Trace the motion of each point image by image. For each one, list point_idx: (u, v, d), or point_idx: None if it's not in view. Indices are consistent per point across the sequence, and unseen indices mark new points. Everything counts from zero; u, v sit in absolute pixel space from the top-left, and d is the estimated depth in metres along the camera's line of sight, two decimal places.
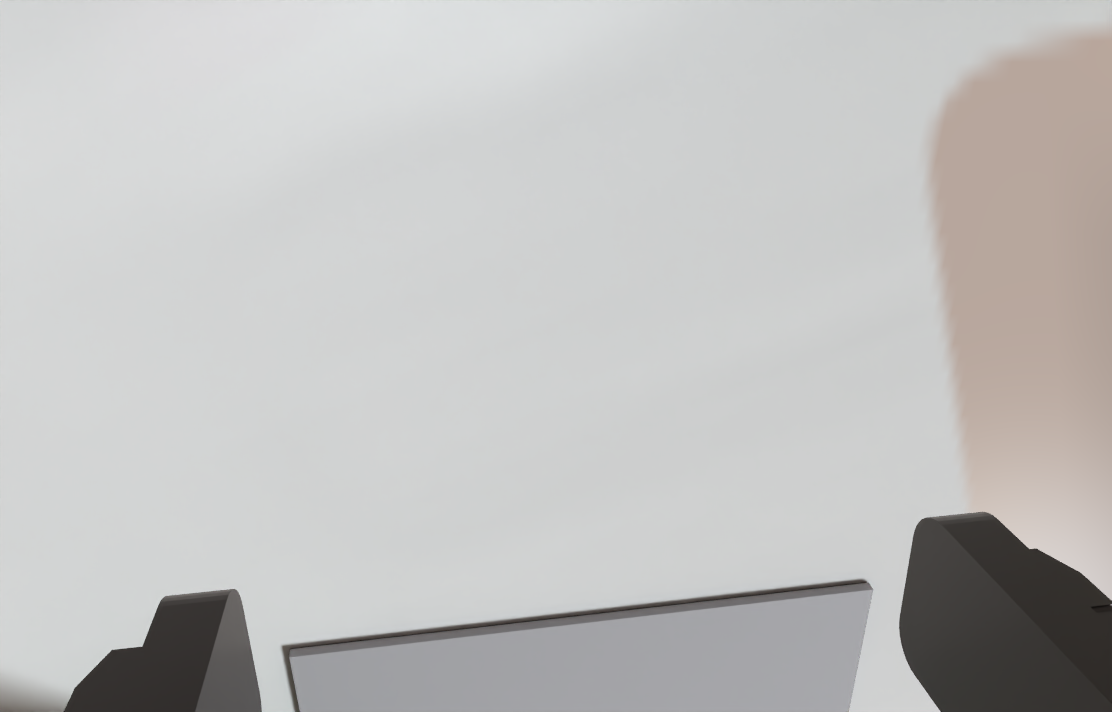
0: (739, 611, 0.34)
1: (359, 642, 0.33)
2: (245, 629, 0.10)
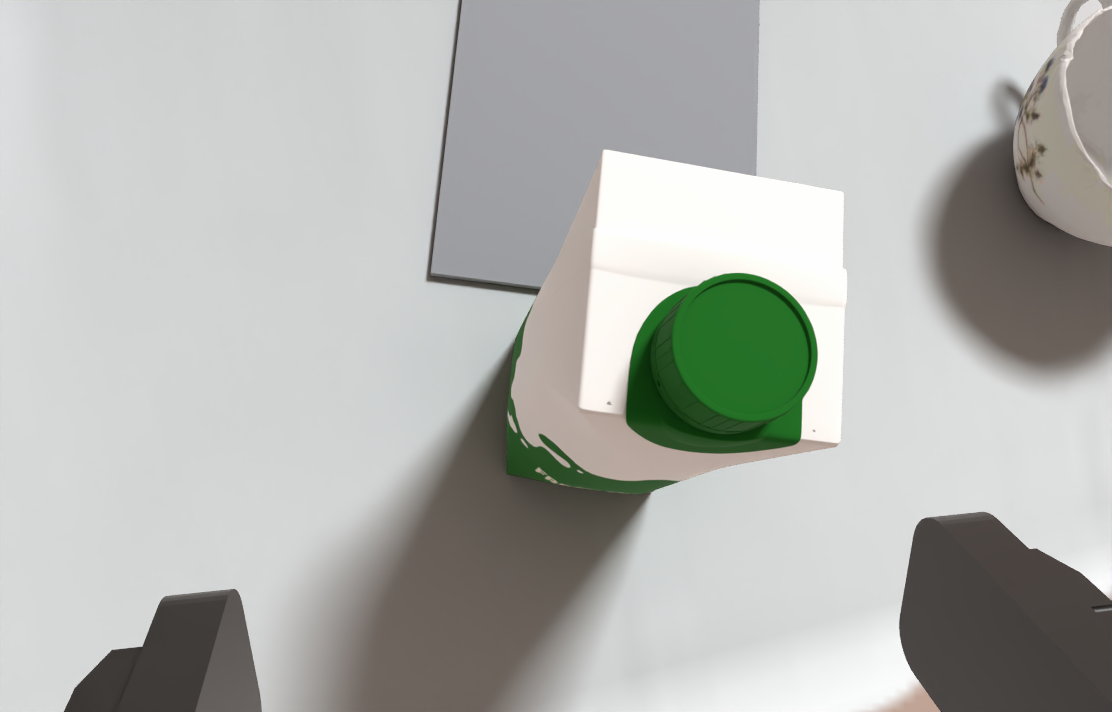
0: None
1: (436, 227, 0.43)
2: (245, 629, 0.10)
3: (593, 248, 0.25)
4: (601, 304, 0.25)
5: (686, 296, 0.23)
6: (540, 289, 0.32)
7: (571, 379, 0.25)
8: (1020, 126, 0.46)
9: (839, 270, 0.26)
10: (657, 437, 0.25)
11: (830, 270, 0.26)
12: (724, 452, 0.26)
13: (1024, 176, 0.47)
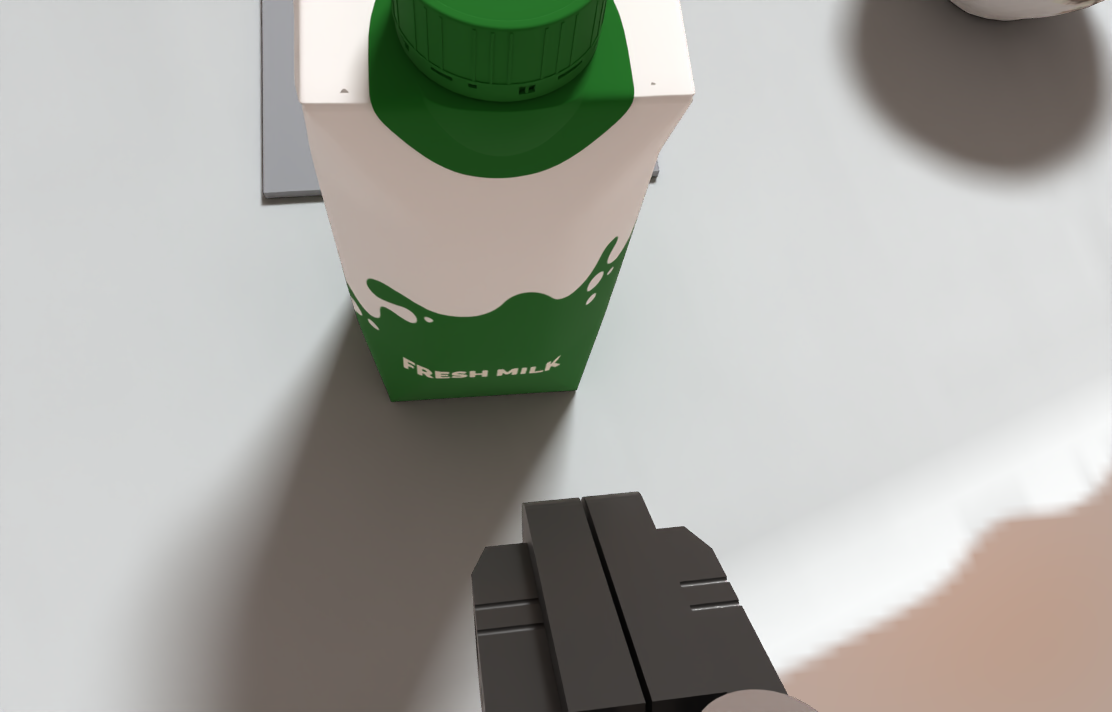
0: None
1: (265, 145, 0.37)
2: None
3: None
4: None
5: None
6: None
7: None
8: None
9: None
10: (440, 147, 0.18)
11: None
12: (549, 164, 0.19)
13: None
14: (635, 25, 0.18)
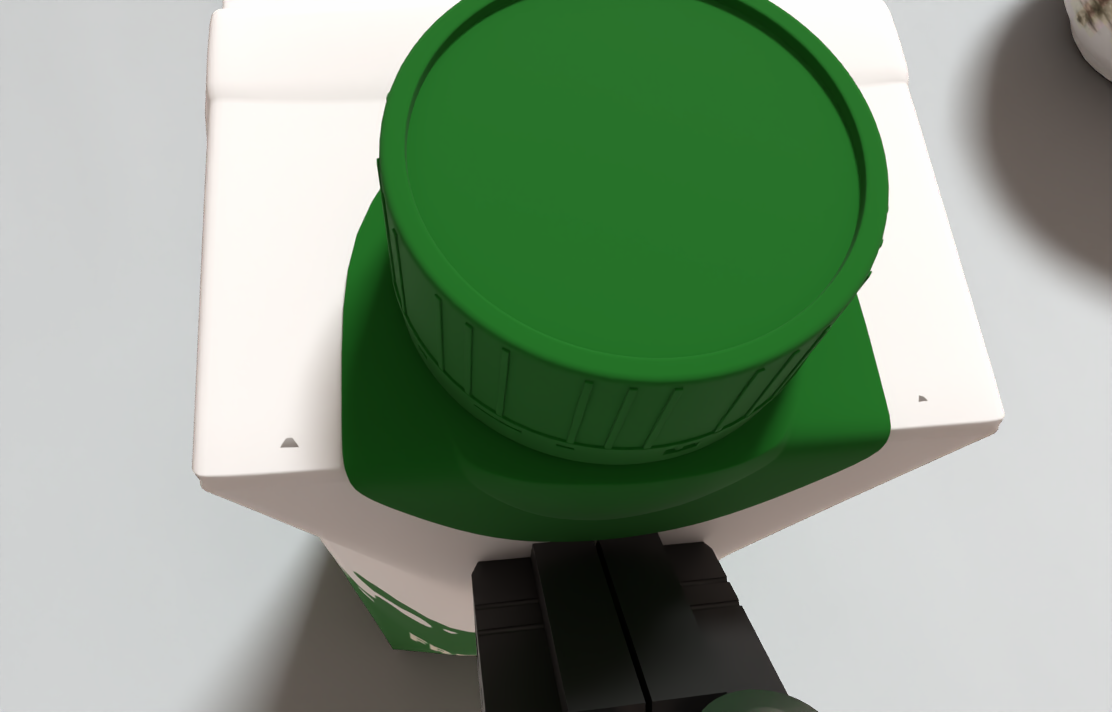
0: None
1: None
2: None
3: (211, 52, 0.09)
4: (245, 182, 0.09)
5: (417, 42, 0.07)
6: None
7: None
8: None
9: (868, 3, 0.10)
10: (486, 518, 0.09)
11: (846, 8, 0.10)
12: (693, 521, 0.10)
13: (1096, 24, 0.31)
14: (872, 269, 0.09)
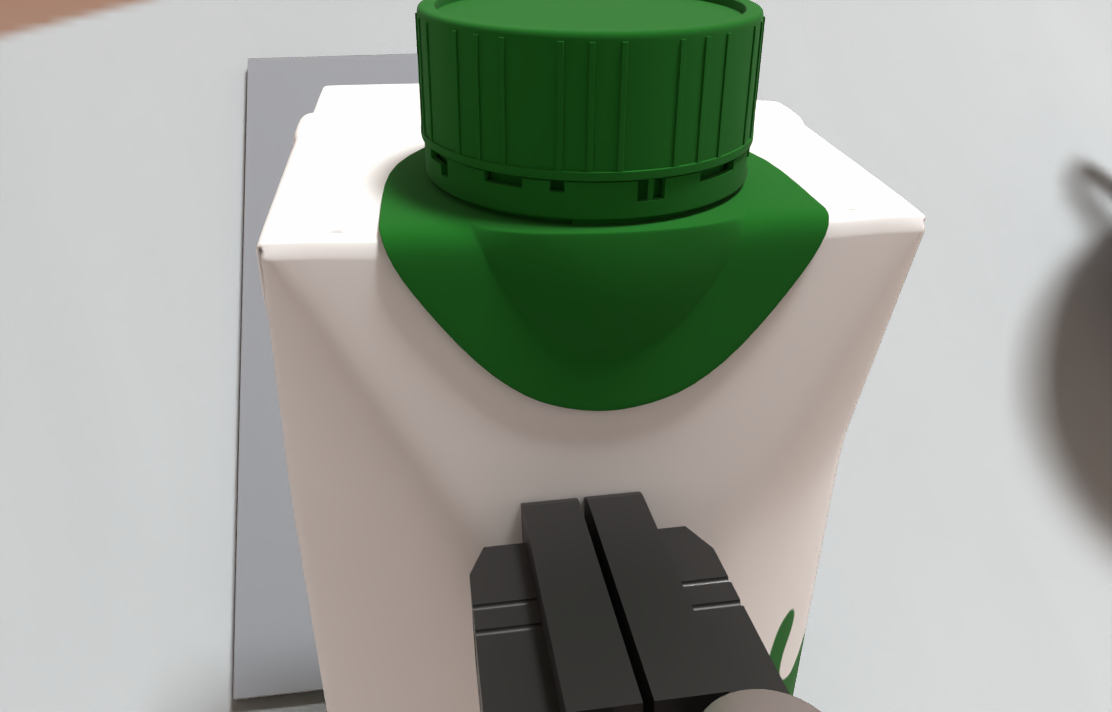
0: (255, 181, 0.31)
1: (238, 608, 0.26)
2: None
3: (300, 123, 0.13)
4: (316, 159, 0.12)
5: None
6: None
7: None
8: None
9: None
10: (500, 335, 0.10)
11: None
12: (691, 374, 0.11)
13: None
14: (794, 170, 0.12)
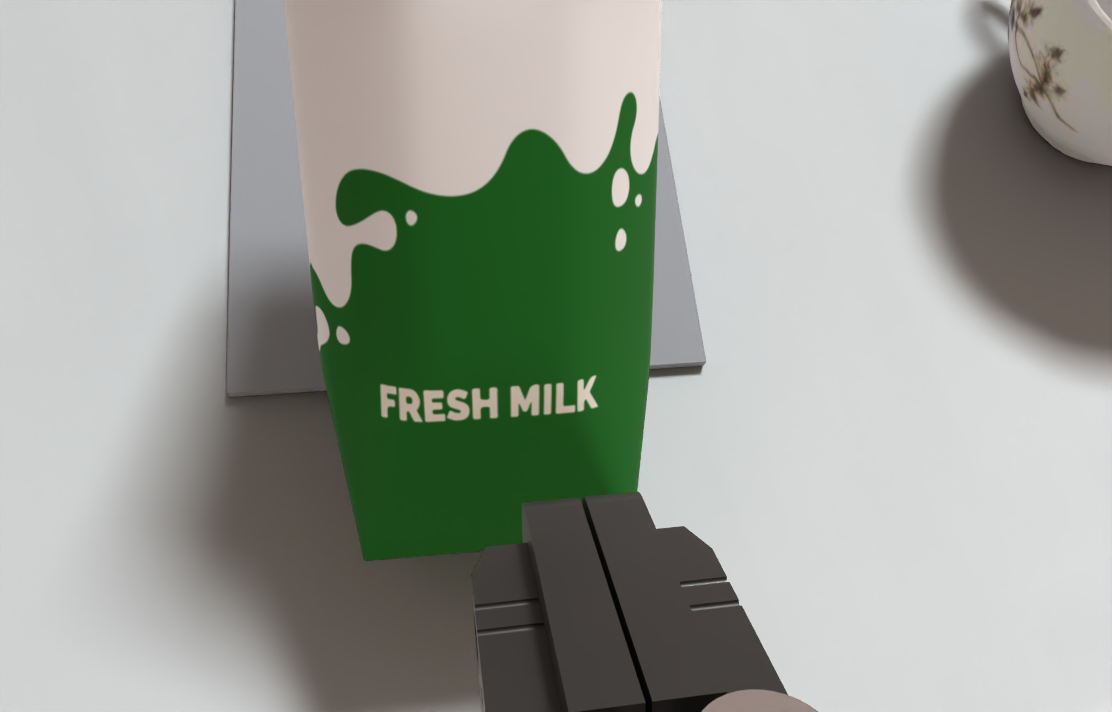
0: None
1: (230, 327, 0.30)
2: None
3: None
4: None
5: None
6: None
7: None
8: (1017, 35, 0.33)
9: None
10: None
11: None
12: None
13: (1039, 101, 0.34)
14: None
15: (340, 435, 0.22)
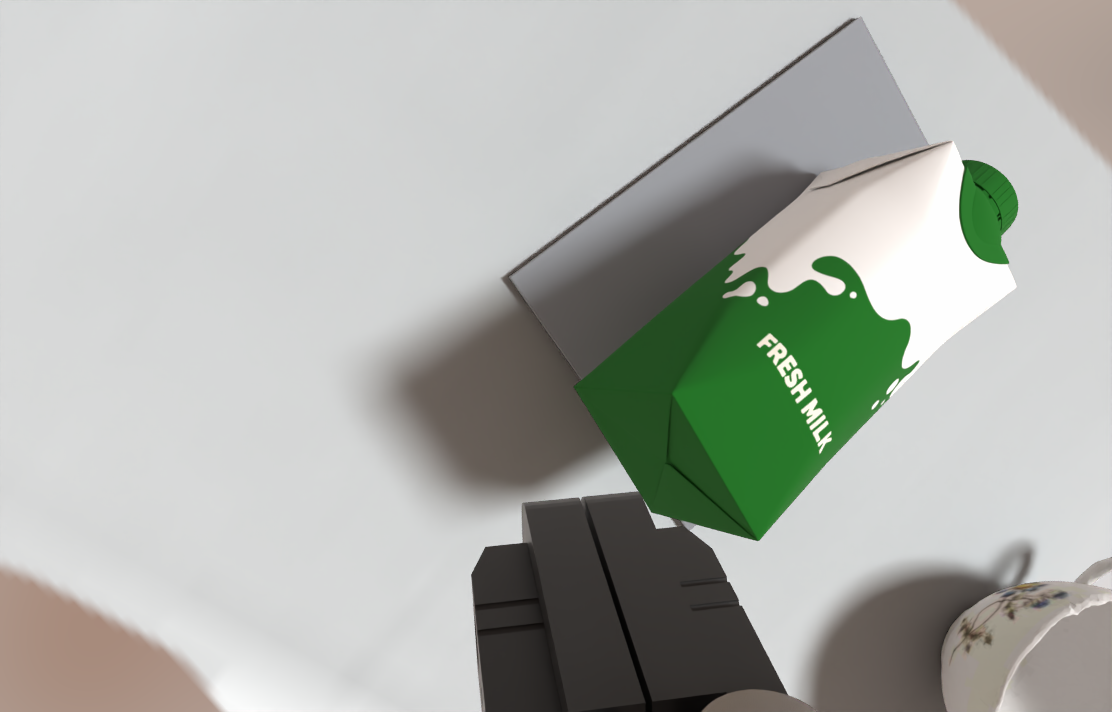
0: (783, 82, 0.44)
1: None
2: None
3: (870, 158, 0.43)
4: None
5: None
6: (763, 226, 0.41)
7: (923, 149, 0.39)
8: (996, 603, 0.48)
9: None
10: (967, 202, 0.39)
11: None
12: (980, 254, 0.39)
13: (960, 633, 0.48)
14: None
15: (712, 334, 0.34)
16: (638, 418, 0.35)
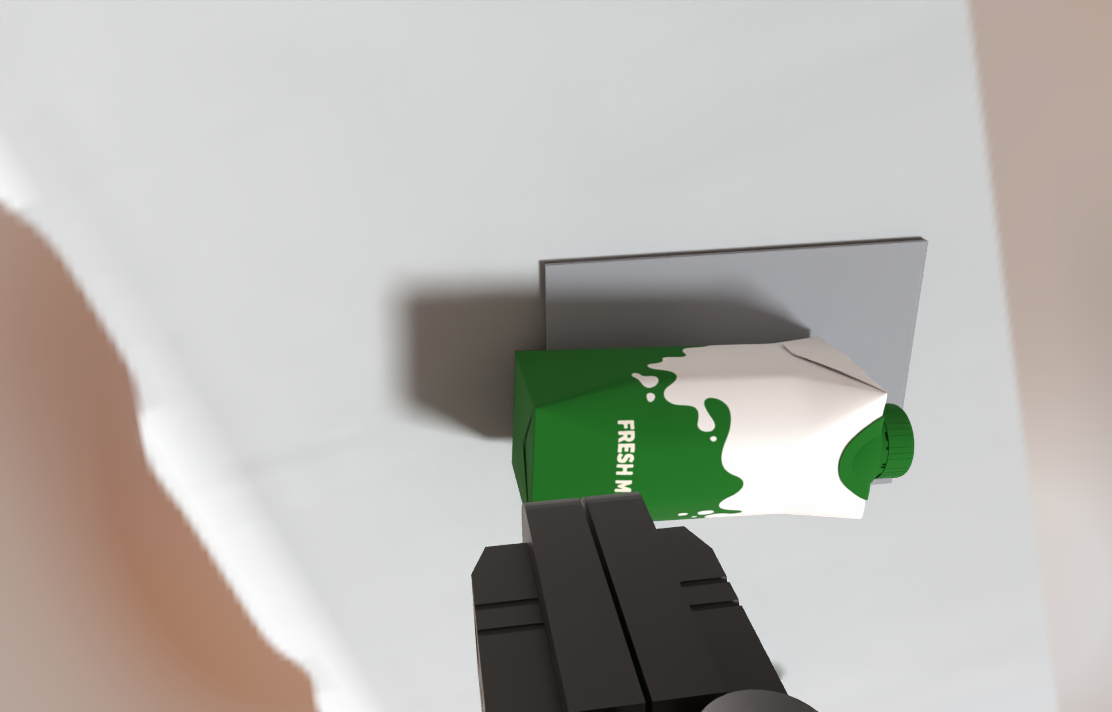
0: (838, 252, 0.51)
1: (589, 261, 0.49)
2: None
3: (847, 356, 0.49)
4: None
5: (888, 404, 0.49)
6: (726, 345, 0.49)
7: (866, 382, 0.46)
8: None
9: None
10: (861, 440, 0.46)
11: None
12: (843, 479, 0.47)
13: None
14: None
15: (597, 392, 0.44)
16: (523, 404, 0.46)
